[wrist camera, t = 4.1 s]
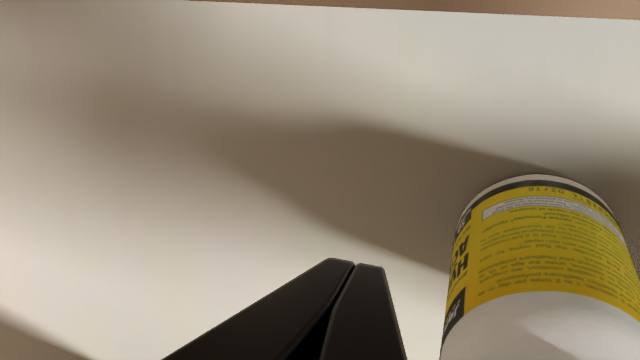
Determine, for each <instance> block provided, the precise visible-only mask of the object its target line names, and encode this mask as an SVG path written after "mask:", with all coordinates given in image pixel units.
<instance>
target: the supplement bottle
mask: <svg viewBox="0 0 640 360" xmlns="http://www.w3.org/2000/svg"><path fill="white" fill-rule="evenodd" d="M439 360H640V282H639V279H638V276H637V273H636V270H635V268H634V265H633V261H632V259H631V256H630V253H629V250H628V248H627V245H626V242H625V238H624V236H623V233H622V231H621V228H620V226H619V223H618V222H617V219H616V217H615V216H614V214H613V212H612V211H611V209H610V208H609V207H608V205H607V204H606V203H605V202H604V201H603V200H602V199H601V198H600V197H599V196H598V195H597V194H595V193H594V192H593V191H591V190H590V189H588V188H587V187H585V186H583V185H581V184H579V183H577V182H575V181H572V180H569V179H566V178H562V177H558V176H552V175H542V174H532V175H523V176H518V177H513V178H509V179H506V180H503V181H501V182H498V183H496V184H494V185H492V186H490V187H488V188H486V189H485V190H483V191H482V192H480V193H479V194H478V195H477V196H476V197H475V198H474V199H473V200H472V201H471V202H470V203H469V204H468V205H467V207H466V208H465V210H464V211H463V213H462V215H461V217H460V219H459V221H458V224H457V227H456V231H455V236H454V241H453V250H452V260H451V268H450V278H449V287H448V296H447V304H446V312H445V321H444V328H443V336H442V344H441V350H440V358H439Z"/></svg>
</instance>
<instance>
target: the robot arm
mask: <svg viewBox="0 0 640 360" xmlns="http://www.w3.org/2000/svg"><path fill="white" fill-rule="evenodd" d="M162 360H407V357H406V353H405V349H404V345H403V341H402V337H401V333H400V329H399V325H398V321H397V317H396V313H395V310H394V306H393V302H392V298H391V294H390V290H389V286H388V282H387V278H386V274H385V271H384V269H383V268H382V267H379V266H374V265H368V264H363V263H359V264H357V265H356V266H355V264H354V263H353V262H351V261H346V260H341V259H336V258H328V259H325V260H324V261H322V262H321V263H319V264H317V265H316V266H314V267H312V268H311V269H309V270H307V271H306V272H304V273H302V274H301V275H299V276H298V277H296V278H294V279H293V280H291V281H289V282H288V283H286V284H284V285H283V286H281V287H280V288H278V289H276V290H275V291H273V292H271V293H270V294H268V295H266V296H265V297H263V298H262V299H260V300H258V301H257V302H255V303H253V304H252V305H250V306H248V307H247V308H245V309H244V310H242V311H240V312H239V313H237V314H235V315H234V316H232V317H230V318H229V319H227V320H225V321H224V322H222V323H221V324H219V325H217V326H216V327H214V328H212V329H211V330H209V331H207V332H206V333H204V334H203V335H201V336H199V337H198V338H196V339H194V340H193V341H191V342H189V343H188V344H186V345H185V346H183V347H181V348H180V349H178V350H176V351H175V352H173V353H171V354H170V355H168V356H167V357H165V358H163V359H162Z"/></svg>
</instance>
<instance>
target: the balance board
mask: <svg viewBox="0 0 640 360" xmlns="http://www.w3.org/2000/svg"><path fill="white" fill-rule="evenodd" d="M191 1H215V2H238V3H261V4H284V5H307V6H330V7H353V8H376V9H400V10H423V11H446V12H469V13H492V14H515V15H538V16H561V17H585V18H608V19H631V20H640V0H191Z"/></svg>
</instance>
